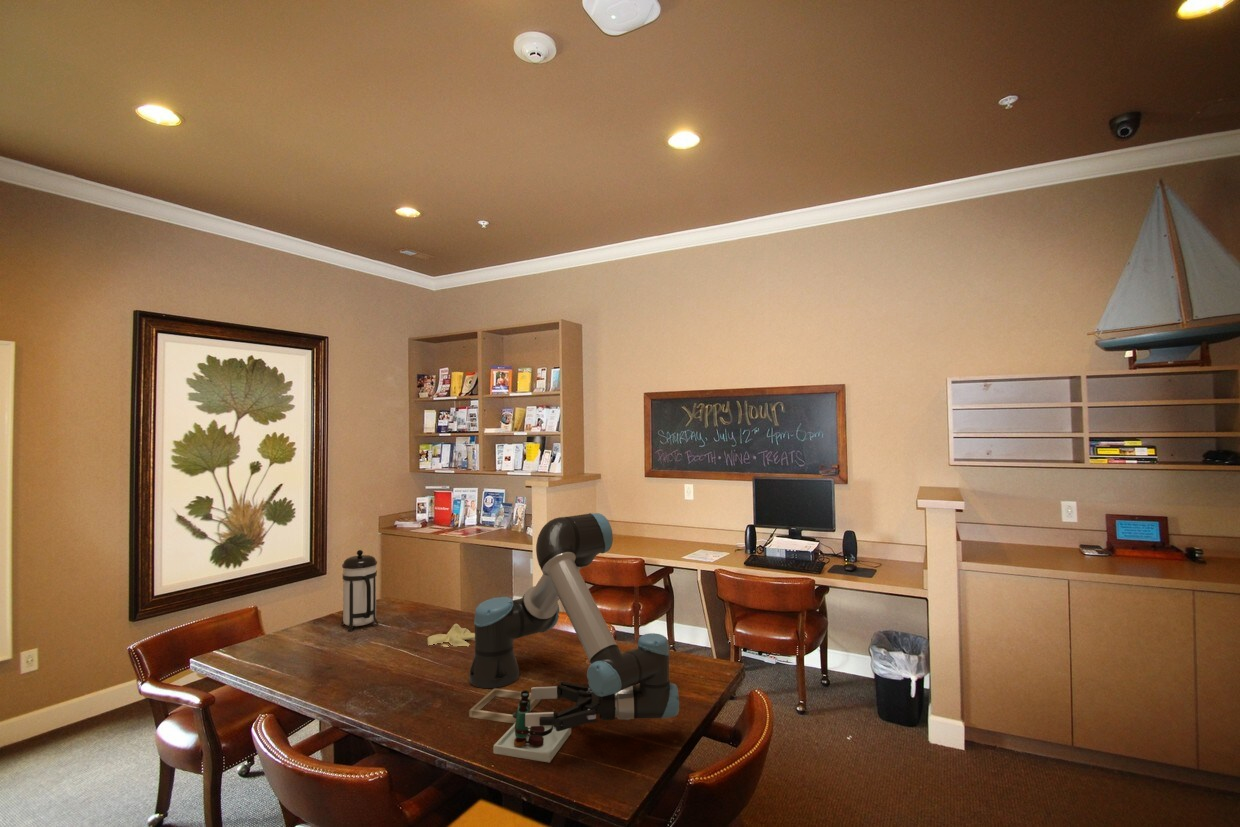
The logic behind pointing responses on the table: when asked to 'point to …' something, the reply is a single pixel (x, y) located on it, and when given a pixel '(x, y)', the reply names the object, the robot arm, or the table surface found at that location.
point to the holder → (501, 717)
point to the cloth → (453, 637)
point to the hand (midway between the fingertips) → (528, 705)
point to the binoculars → (523, 731)
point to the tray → (529, 751)
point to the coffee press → (359, 590)
